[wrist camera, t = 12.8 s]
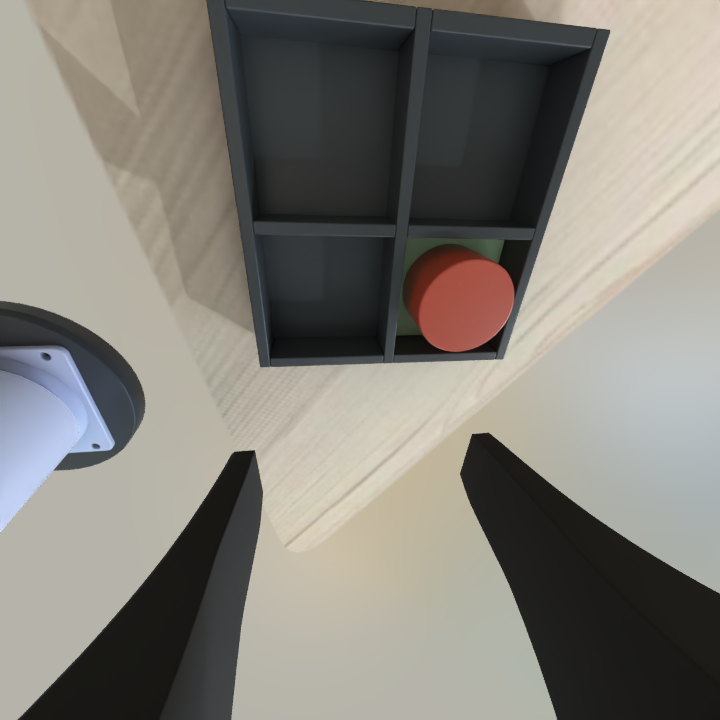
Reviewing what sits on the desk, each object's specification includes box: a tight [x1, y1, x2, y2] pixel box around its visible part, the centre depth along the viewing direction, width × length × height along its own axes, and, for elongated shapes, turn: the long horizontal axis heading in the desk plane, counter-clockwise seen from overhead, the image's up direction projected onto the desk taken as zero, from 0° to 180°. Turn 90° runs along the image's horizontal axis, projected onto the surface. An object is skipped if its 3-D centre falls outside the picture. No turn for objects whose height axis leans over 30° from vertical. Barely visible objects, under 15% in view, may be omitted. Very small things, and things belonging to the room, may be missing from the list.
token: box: [402, 244, 514, 352], centre depth 15 cm, size 4×4×3 cm
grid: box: [206, 0, 610, 367], centre depth 14 cm, size 13×13×3 cm
